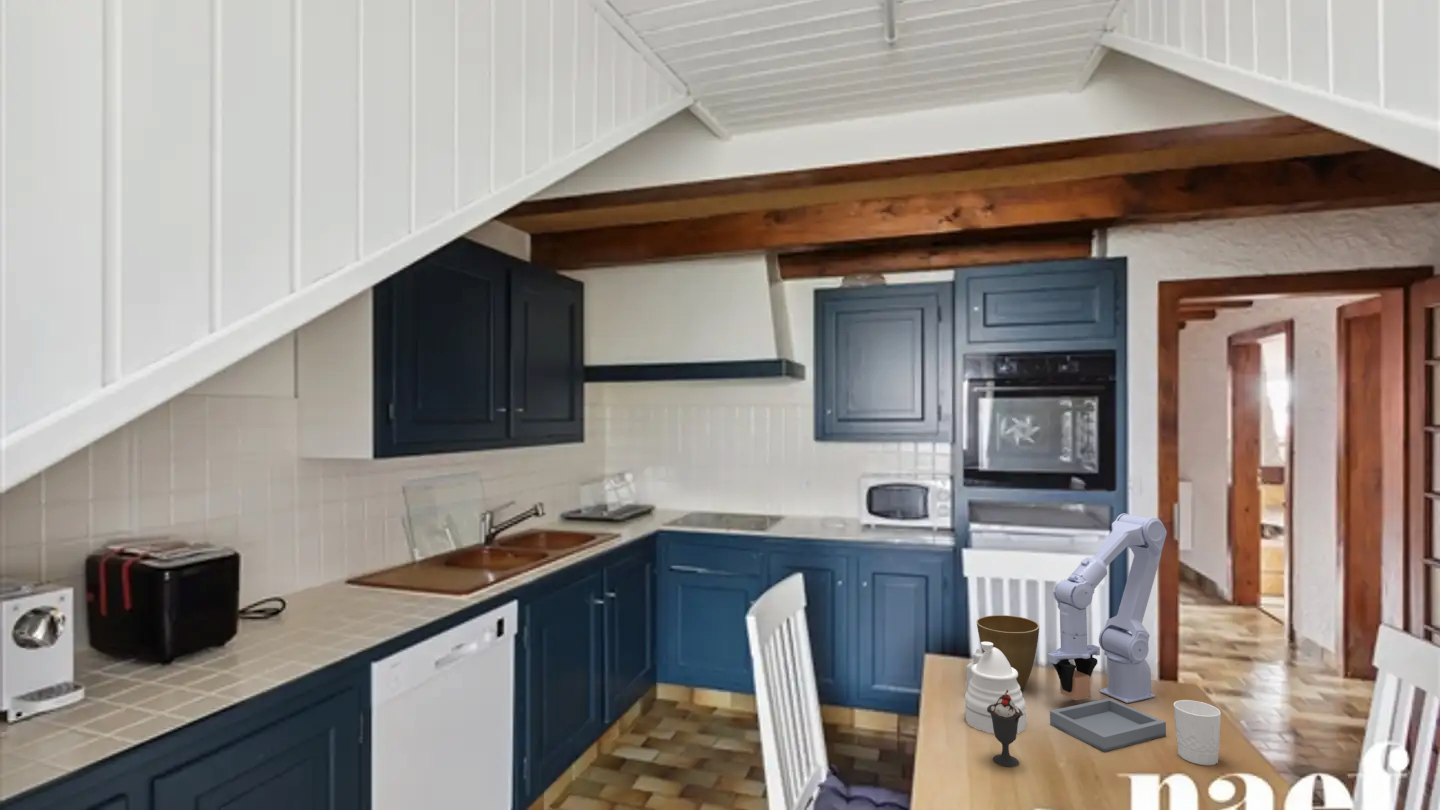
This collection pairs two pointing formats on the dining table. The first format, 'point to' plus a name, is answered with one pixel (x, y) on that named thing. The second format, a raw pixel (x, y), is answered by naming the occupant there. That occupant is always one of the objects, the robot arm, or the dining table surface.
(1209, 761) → the white cup
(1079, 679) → the block
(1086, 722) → the tray
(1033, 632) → the plant pot
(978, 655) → the eye dropper bottle
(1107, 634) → the robot arm
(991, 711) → the sundae
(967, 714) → the honey pot
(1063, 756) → the dining table surface
